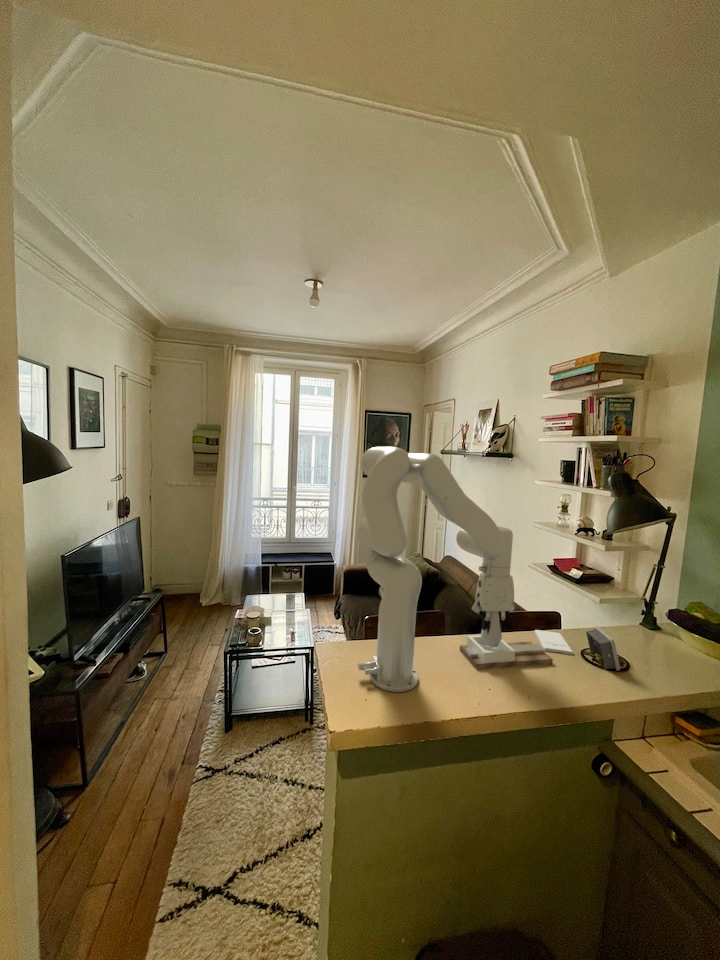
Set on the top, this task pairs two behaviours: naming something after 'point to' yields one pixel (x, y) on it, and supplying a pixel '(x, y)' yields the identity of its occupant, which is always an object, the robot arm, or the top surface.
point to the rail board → (519, 661)
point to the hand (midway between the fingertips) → (491, 631)
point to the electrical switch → (603, 647)
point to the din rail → (518, 649)
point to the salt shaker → (492, 631)
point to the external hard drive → (553, 642)
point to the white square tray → (491, 650)
